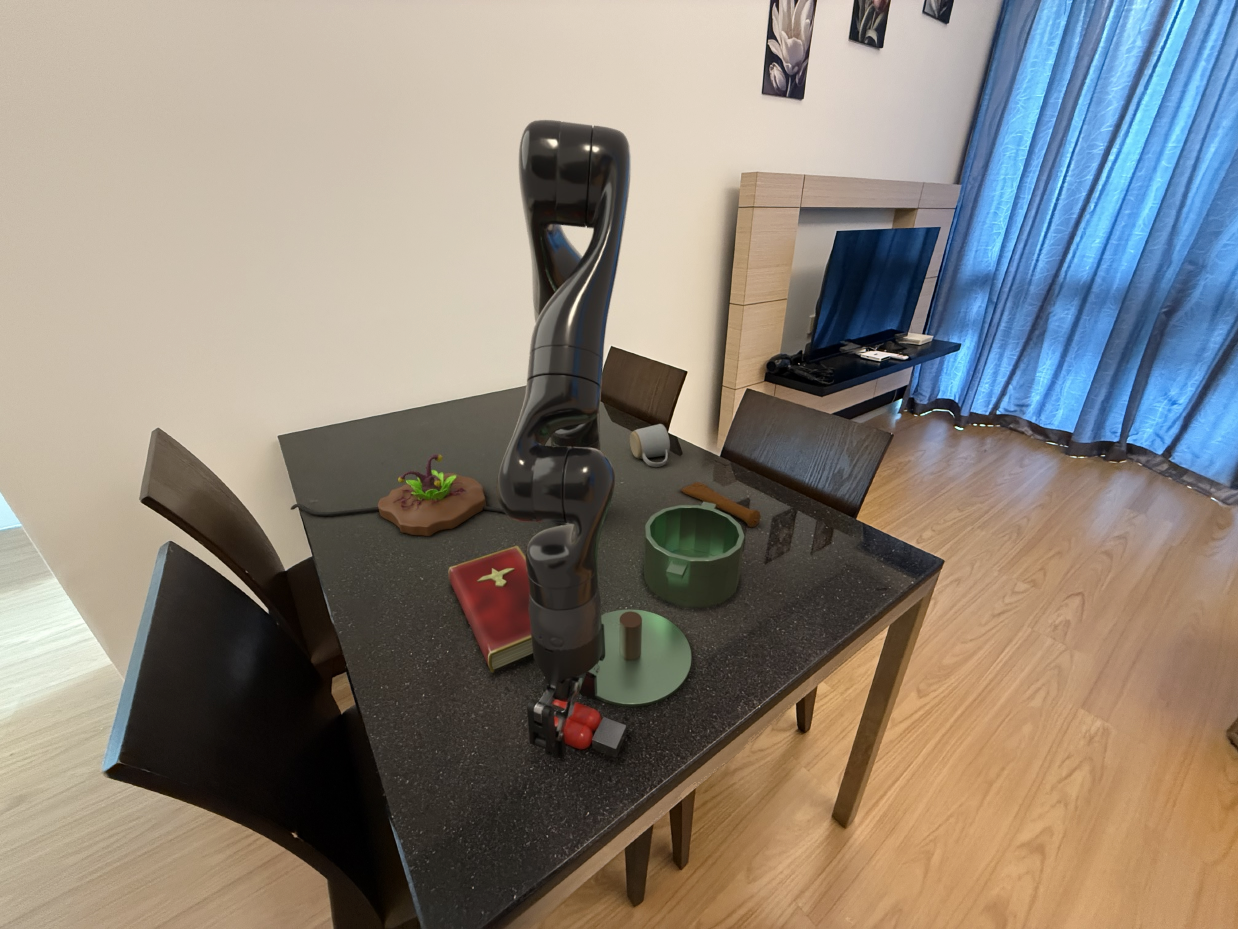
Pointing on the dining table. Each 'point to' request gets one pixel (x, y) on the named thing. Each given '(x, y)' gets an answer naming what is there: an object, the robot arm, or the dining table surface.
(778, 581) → the dining table surface
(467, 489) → the plant
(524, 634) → the hardcover book
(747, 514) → the primitive tool
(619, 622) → the lid
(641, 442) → the ceramic mug
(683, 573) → the pot
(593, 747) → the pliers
